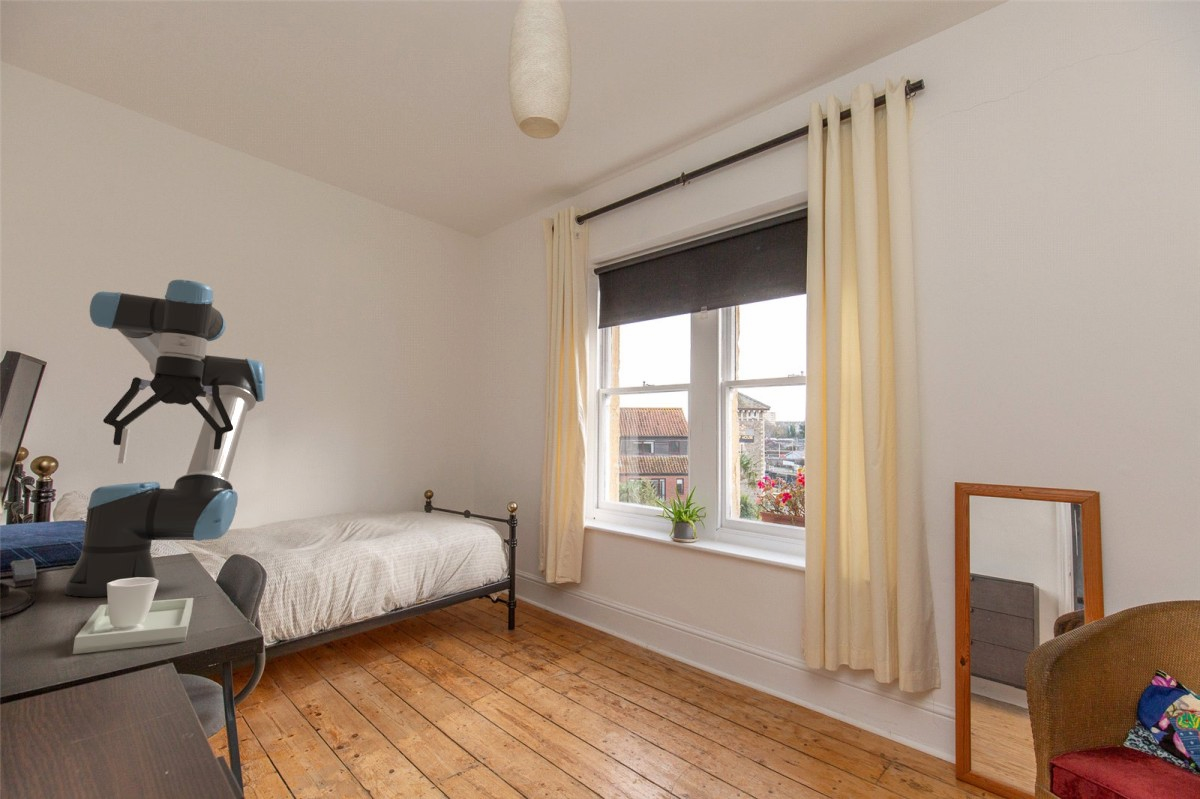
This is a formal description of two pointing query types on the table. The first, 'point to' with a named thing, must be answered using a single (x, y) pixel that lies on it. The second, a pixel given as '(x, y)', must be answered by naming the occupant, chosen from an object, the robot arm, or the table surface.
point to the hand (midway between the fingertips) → (166, 464)
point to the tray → (158, 628)
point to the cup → (130, 602)
